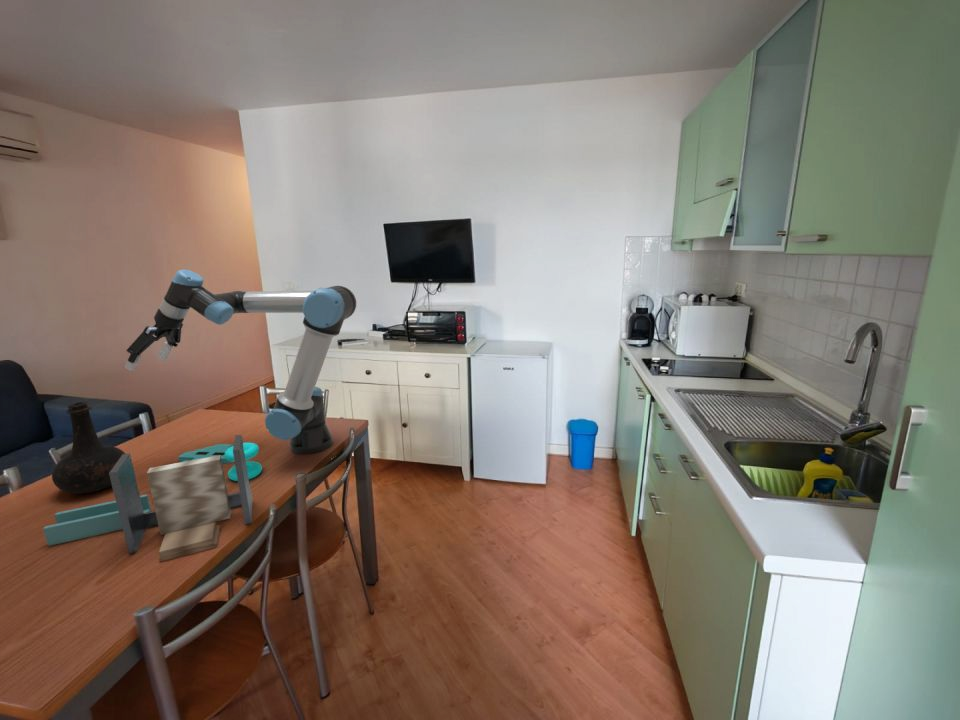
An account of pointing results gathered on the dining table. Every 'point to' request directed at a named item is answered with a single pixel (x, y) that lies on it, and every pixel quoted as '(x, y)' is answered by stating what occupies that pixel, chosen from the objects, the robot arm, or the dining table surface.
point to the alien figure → (206, 453)
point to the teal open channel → (87, 522)
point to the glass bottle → (85, 457)
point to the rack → (138, 521)
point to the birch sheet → (189, 494)
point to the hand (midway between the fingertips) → (145, 363)
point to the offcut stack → (189, 541)
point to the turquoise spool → (252, 466)
